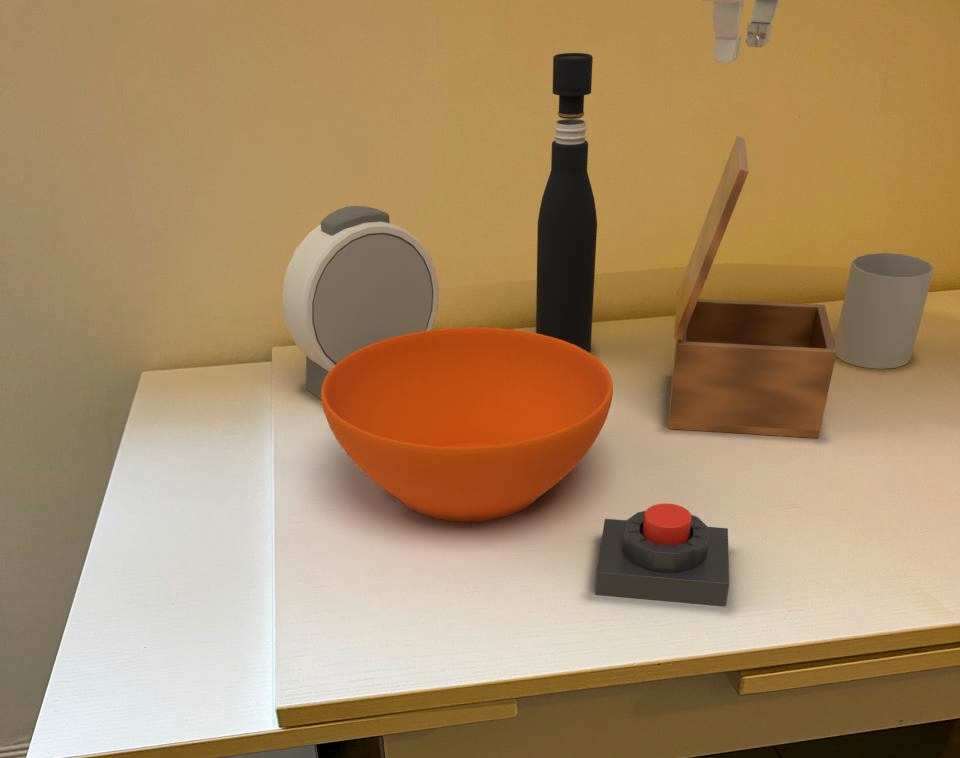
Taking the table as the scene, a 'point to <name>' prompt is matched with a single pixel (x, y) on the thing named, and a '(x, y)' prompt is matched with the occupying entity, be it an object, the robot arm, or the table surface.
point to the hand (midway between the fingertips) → (741, 53)
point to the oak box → (753, 369)
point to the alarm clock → (356, 288)
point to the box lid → (711, 235)
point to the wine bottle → (568, 215)
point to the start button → (667, 524)
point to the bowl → (467, 416)
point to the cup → (882, 309)
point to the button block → (663, 564)
